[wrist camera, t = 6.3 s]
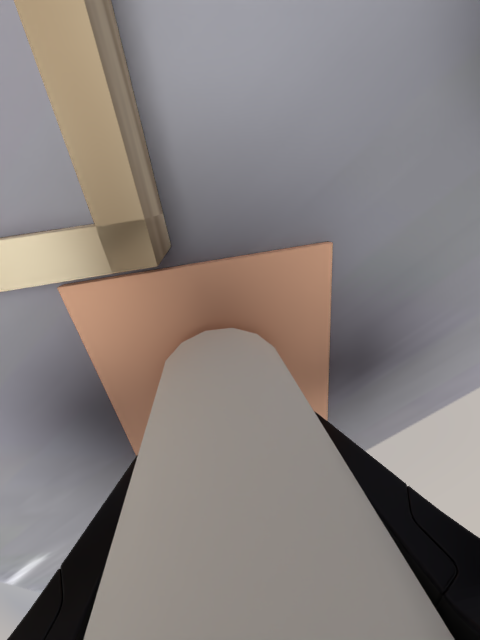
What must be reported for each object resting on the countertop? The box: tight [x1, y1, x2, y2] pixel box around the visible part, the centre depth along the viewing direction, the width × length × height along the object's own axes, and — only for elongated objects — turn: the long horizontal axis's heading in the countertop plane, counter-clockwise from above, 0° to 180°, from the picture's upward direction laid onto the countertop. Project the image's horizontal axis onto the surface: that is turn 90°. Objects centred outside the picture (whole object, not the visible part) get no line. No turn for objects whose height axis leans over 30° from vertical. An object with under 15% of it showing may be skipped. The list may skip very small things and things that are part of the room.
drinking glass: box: [83, 328, 455, 640], centre depth 7 cm, size 7×7×10 cm
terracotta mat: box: [57, 242, 333, 456], centre depth 13 cm, size 11×11×1 cm
